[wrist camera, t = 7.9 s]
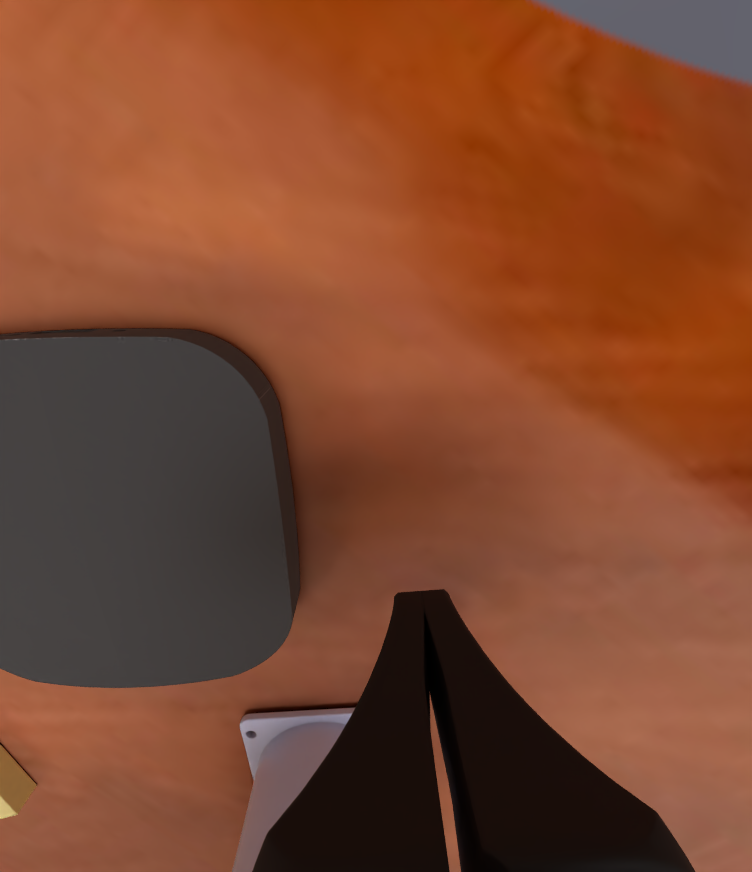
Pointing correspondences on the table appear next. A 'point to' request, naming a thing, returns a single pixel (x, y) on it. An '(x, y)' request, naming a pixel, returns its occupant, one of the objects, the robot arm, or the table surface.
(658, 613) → the table surface
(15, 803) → the sticky note pad
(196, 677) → the media streaming box
